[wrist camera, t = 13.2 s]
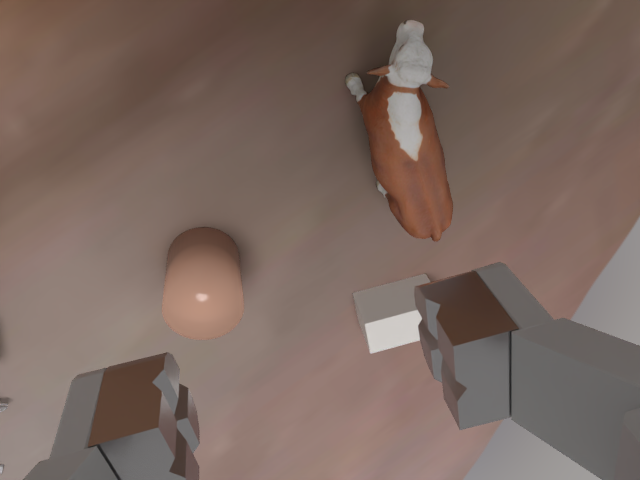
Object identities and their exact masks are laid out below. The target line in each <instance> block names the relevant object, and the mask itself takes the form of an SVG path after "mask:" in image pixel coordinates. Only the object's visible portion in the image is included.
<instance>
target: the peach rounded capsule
mask: <svg viewBox="0 0 640 480" xmlns="http://www.w3.org/2000/svg"><path fill="white" fill-rule="evenodd" d="M243 312H244V299H243V289H242V280H241V270H240V260H239V252H238V248H237V246H236V244H235V242H234V241H233V240H232V239H231V238H230V237H229V236H228V235H227V234H225V233H224V232H222V231H220V230H217V229H213V228H208V227H200V228H194V229H190V230H188V231H185V232H183V233H182V234H180V235H179V236H178V237H177V238H176V239H175V240H174V241H173V242H172V244H171V246H170V248H169V251H168V257H167V266H166V275H165V285H164V294H163V303H162V313H163V317H164V319H165V321H166V323H167V324H168V326H169V327H170V328H171V329H172V330H173V331H175V332H176V333H178V334H179V335H181V336H184V337H186V338H190V339H195V340H208V339H214V338H217V337H220V336H223V335H225V334H227V333H228V332H230V331H231V330H232V329H234V328H235V327H236V326H237V324H238V323H239V322H240V320H241V318H242V316H243Z"/></svg>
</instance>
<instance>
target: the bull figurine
mask: <svg viewBox="0 0 640 480" xmlns="http://www.w3.org/2000/svg"><path fill="white" fill-rule="evenodd" d="M423 33H424V26H423V24H422V23H420V22H418V21H415V20H407V21H404V22H402V23H401V24H400V26H399V27H398V30H397V34H396V38H397V41H396V43H395V45H394V47H393V50H392V53H391V56H390V59H389V64H388V65H385V66H383V67H378V68H374V69H372V70H369V71H367V74H374V75H379V76H380V77H379V80H378V81H377V83H376V85H375V87H374V89H373V90H372V91H371V92H370V93H369V94H368V92H365V91H364V88H363V85H362V82H361V78H360V77H359V75H358V74H355V73H350V74H348V75H347V76H346V79H345V84H346V86H347V87H348V88H349V89H350V91H351V94H352V95H356V100H357V103H358V104H359V106H360V109H361V112H362V114H363V120H364V124H365V127H366V130H367V132H368V135H369V145H370V152H371V161H372V167H373V171H374V174H375V176H376V178H377V182H376V186H377V188H378V190H379V191H380V192H382V194H383V196H384V197H385V198H387V199H388V202H389V207H390V209H391V212H392V213H393V214H394V216H395V217H396V219H397V220H398V222H399V223H400V224H401V226H402V227H403V228H404V229H405V230H406V231H407V232H408V233H409V234H410V235H411V236H413V237H415V238H422V239H426V238H429V237H431V238H432V240H433V241H438V240H440V238H441V234H442V232H443V231H445V230H446V229H447V228H448V227H449V226H450V224H451V219H452V212H453V202H452V198H451V194H450V188H449V184H448V181H447V175H446V170H445V159H444V153H443V149H442V146H441V144H440V140H439V137H438V134H437V130H436V126H435V123H434V117H433V113H432V111H431V109H430V106H429V104H428V102H427V99H426V97H425V95H424V93H423V92H422V90H421V88H420V87H419V86H420V85H421V84H426V85H428V86H430V87H433V88H440V87H442V88H449V85H448V84H447V83H445V82H444V81H442V80H440V79H437V78H435V77H434V76H433V75H432V74H431V67H432V63H433V57H432V53H431V51H430V50H429V48H428V47H427V45H426V44H425V43H424V41H423Z"/></svg>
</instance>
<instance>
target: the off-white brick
mask: <svg viewBox="0 0 640 480" xmlns="http://www.w3.org/2000/svg"><path fill="white" fill-rule="evenodd" d="M426 283H430V280H429V279H428V277H427V275H426V274H422V275H418V276H414V277H410V278H407V279H403V280H399V281H395V282H392V283H388V284H384V285H380V286H377V287H373V288H369V289H365V290H362V291H358V292H354V293H353V298H354V303H355V308H356V313H357V318H358V322H359V325H360V327H361V330H362V333H363V335H364V338H365V341H366V343H367V346H368V349H369V351H370V354H371V353H375V352H379V351H382V350H386V349H390V348H393V347H397V346H400V345H404V344H408V343H411V342H415V341H419V340H420V336H419V330H418V325H419V323H420V321H421V320H422V317H421V315H420V313H419V311H418V310H417V308H416V306H415V297H414V289H415V286H419V285H422V284H426Z"/></svg>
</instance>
